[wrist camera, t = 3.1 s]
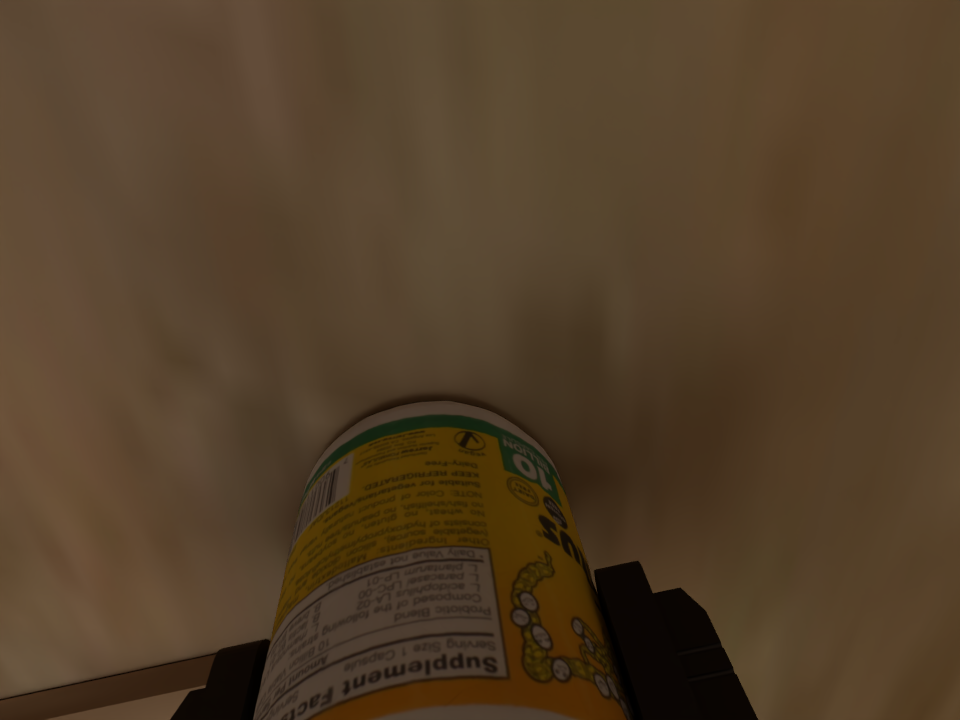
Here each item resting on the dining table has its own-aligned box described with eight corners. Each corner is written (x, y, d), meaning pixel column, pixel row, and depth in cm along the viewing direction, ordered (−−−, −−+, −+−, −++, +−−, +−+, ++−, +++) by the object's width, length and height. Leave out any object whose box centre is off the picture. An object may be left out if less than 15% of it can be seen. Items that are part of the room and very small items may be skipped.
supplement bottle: (269, 421, 13) (-7, 1220, 4) (544, 367, 13) (800, 1066, 4) (345, 615, 15) (261, 1357, 7) (574, 569, 15) (772, 1258, 7)
